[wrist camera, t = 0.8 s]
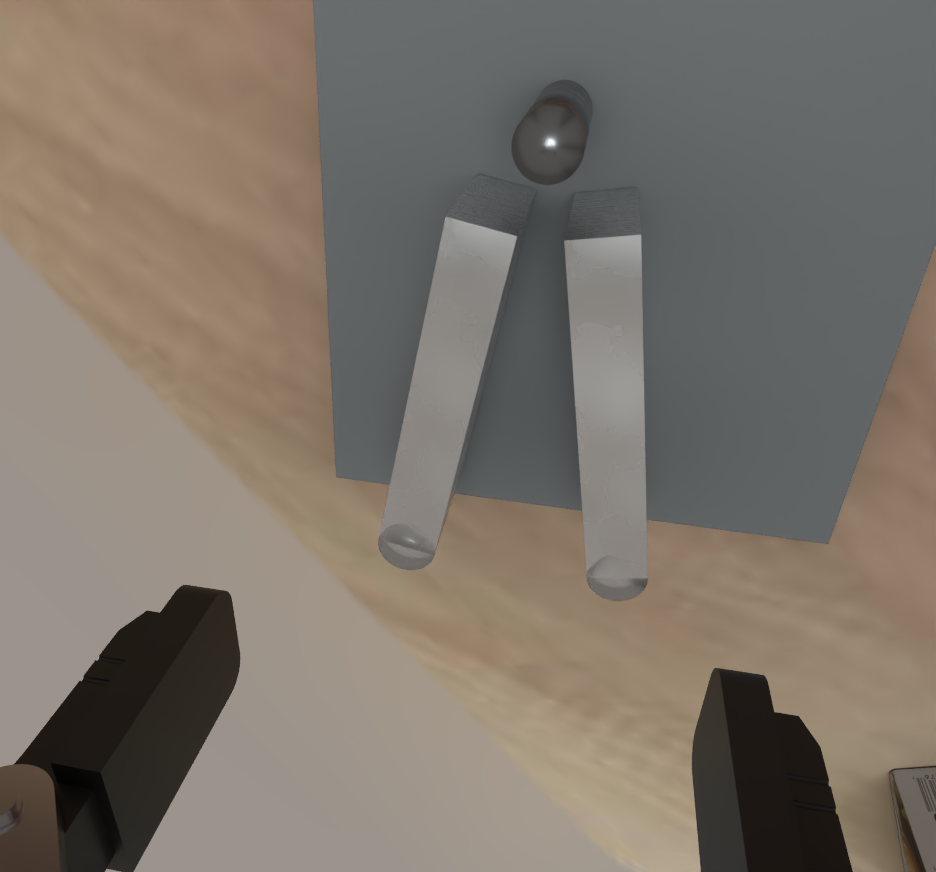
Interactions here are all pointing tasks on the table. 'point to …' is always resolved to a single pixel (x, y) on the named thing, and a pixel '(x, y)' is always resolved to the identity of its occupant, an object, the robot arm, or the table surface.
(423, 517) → the jaw
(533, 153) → the post
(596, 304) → the bar
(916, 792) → the coffee box
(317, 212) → the table surface
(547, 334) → the slate board
